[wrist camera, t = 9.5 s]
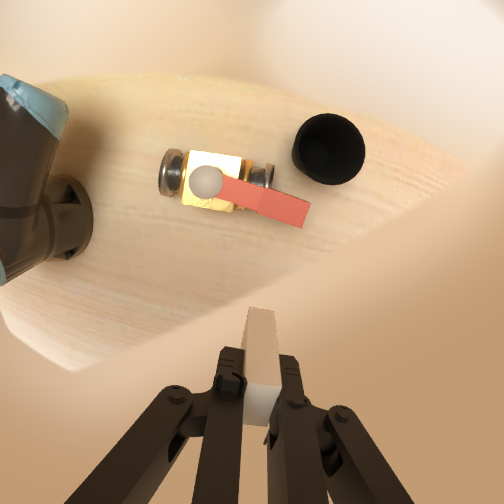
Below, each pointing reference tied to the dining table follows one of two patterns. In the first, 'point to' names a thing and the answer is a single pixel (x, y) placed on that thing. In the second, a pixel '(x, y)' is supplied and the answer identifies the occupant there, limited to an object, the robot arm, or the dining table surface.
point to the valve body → (180, 167)
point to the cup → (329, 149)
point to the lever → (247, 195)
